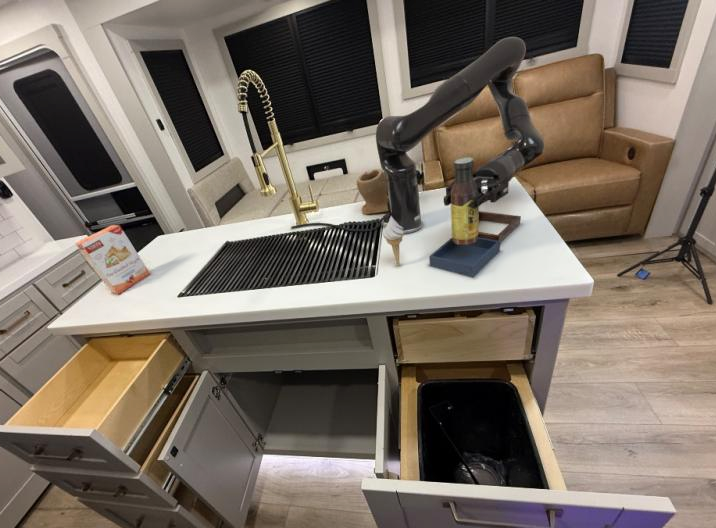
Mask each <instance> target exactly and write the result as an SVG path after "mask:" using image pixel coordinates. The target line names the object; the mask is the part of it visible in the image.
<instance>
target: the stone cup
mask: <svg viewBox="0 0 716 528" xmlns="http://www.w3.org/2000/svg"><path fill="white" fill-rule="evenodd" d="M356 187H357V190H358V192H359V194H360V196H361V197H362V199H363V201H364V202H365V204H363V206H362V208H361V213H362V214H365V215H369V214H370V215H371V214H378V213H387V212H388V207H387V202H388V201H389V197H388V190H387V184H386V178H385V173H384V171H383V170H382V169H379V168H374V169H371V170H370V171H364V172H363V173H361V174H360V175H359V176H358V177H357V178H356Z"/></svg>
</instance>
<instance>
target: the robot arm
mask: <svg viewBox="0 0 716 528" xmlns="http://www.w3.org/2000/svg"><path fill="white" fill-rule="evenodd" d="M526 47H527V46H526V42H524V40H523V39H522V38H520V37H517V36H509V37H505V38H503V39H499V41H497V42H496V43H495V44H494V45H492V46H491V47H490V48H489V49H488V50H487V51H486V52H484V53H483V54H482V55H481V56H480V57H479V58H478V59H476V60H475V61H473V62H471V63H470V64H468V65H467V66H466V67H465V68H463V69H462V70H460V71H459V72H457V73H456V74H454V75H453V76H451V77H449V78H447V80H445V81H444V82H442V83H441V84H439V85H438V86H437V87H436V88H435V89H434V90H433V92H432V93H431V94H430V97H429V99H428V101H427V102H426V103H424V105H422V106H421V107H420V108H418V109H416V110H414V111H413V112H411V113H408V114H405V115H388V116H385V117H383V118H382V119H381V120H380V121H379V123H378V124H377V127H376V130H375V144H376V149H377V154H378V158H379V165H380V168H381V170H382V171H383V172H384V174H385V178H386V184H387V196H388V197H389V201H388V202H387V207H388V211H387V212H386V213H384V214H383V215H382V217H381V218H380V219H379V221H378V224H377V225H376V226H375V227H372V228H366V229H364V228H361V229H360V228H350V227H349V228H348V227H345V226H341V225H338V224H334V223H327V222H310V223H309V222H308V223H302V224H297V225H292V226H290V228H291V229H296V228H302V227H307V226H328V227H333V228H337V229H340V230H341V229H342V230H344V231H347V232H359V233H361V232H365V233H366V232H370V231H376V230H377V229H379V228H380V227H381V226H382V222H383V224H384V223H385V224H388V222H389V220H390V217H391V216H392V218H393V219H394V220H395V221H396V222H397V223H398V224H399V226H401V227H402V228H404V229H403V231H404V235H406V234H411V233H414V232H417V231H419V230H420V229H421V228H422V227H423V221H422V214H421V211H422V210H421V201H420V193H419V191H420V190H419V184H418V183H419V182H418V173H417V165H416V162H415V161H414V160H413V159H411V157H410V156H409V155H408V154H407V153H408V152H410V151H411V150H413V149H414V148H415V147H417V145H419V144H420V143H421V142H422V141H423V140H424V139H425V138H426V137H428V135H430V134H431V133H432V132H433V131H434V130H436V129H437V128H439V127H440V126H442V125H443V124H445V123H446V122H448V120H450V119H451V118H453V117H455V116H456V115H458V114H459V113H460V112H462V111H463V110H465V109H466V108H468V107H469V106H470V105H471V104H472V103H473V102H474V101H475V100H476V99H477V98H478V96H479V95H480V94H481V93H482V92H483V90H484V89H485V88H486V87H488V90H489V91H490V93H491V96H492V99H493V101H494V102H495V104H496V106H497V107H496V108H497V110H498V112H499V117H500V121H501V125H502V130H503V134H504V137H505V139H506V140H507V141H511V142H514V141H515V142H514V143H513V144H512V145H510V146H509V147H508V148H507V149H506V150H504V151H502V152H500V153H499V154H498V155H497V156H495V157H493V158H491V159H489V160H488V161H486V163H484V164H483V165H481V166H480V167H478V168H477V169H476V170H475V171H474V172H473V179H474V182H475V185H476V187H477V190H478V192H479V194H478V195H477V196H475V197H474V198H473V199H472V200H471V208H472V209H475V208H476V207H479V208H480V207H481V205H483V204H485V203H487V202H489V201H490V202H489V203H496V202H498V201H499V200H501V199H502V198H503V197H505V196H506V195H508V194H509V189H510V187H509V186H510V185H509V184H510V182H511V181H512V179H513V178H514V177H516V176H517V175H518V174H519V173H520V172H521V171H522V169H524V168H525V167H527V166H528V165H530V164H531V163H533V162H534V161H535V160H537V159H538V158H540V157H541V156H542V155H543V154H544V152H545V149H546V142H545V139H544V137H542V135H541V134H540V133H539V132H538V130H537V128H536V127H535V125H534V123H533V121H532V118H531V114H530V109H529V106H528V104H527V101H526V100H525V99H524V97H521V96H520V95H519V94H516V93H515V92H514V88H513V78H514V77H515V75H516V74H517V72H518V70H519V68H520V66H521V64H522V63H523V60H524V58H525V55H526V52H527V48H526ZM455 182H456V181H455V179H454V180H453V181H452V182H451V183H450V184H449V185H447V187H445V194H446V195H444V196H443V205H444V206H445V207H448V206H451V190H452V187H453V186H454V184H455Z"/></svg>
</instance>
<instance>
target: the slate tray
mask: <svg viewBox="0 0 716 528" xmlns="http://www.w3.org/2000/svg"><path fill="white" fill-rule="evenodd" d="M500 252H501V243H500V241H496V240H490V239H484V238H479V237H478V239H477V241H476V242H474V243H473V244H470V245H465V246H463V245H457V244H455V243H454V242H453V237H452V236H451V238H449V239H448V240H447V241H446V242H444V243H443V244H442V245H441V246H440V247H438V248H437V249H435V251H434V252H432V253H431V254H429V256H428V259H429V267H432V268H435V269H439V270H443V271H447V272H450V273H453V274H454V273H455V274H459V275H461V276H466V277H469V278H474V277H475V276H477V274H479V272H481V271H482V270H483V269H484V268H485V267H486V266H487V265H488V264H489V263H490V262H491V261H492V260H493V259H494V258H495V257H496V256H497V255H498V254H499V253H500Z"/></svg>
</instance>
